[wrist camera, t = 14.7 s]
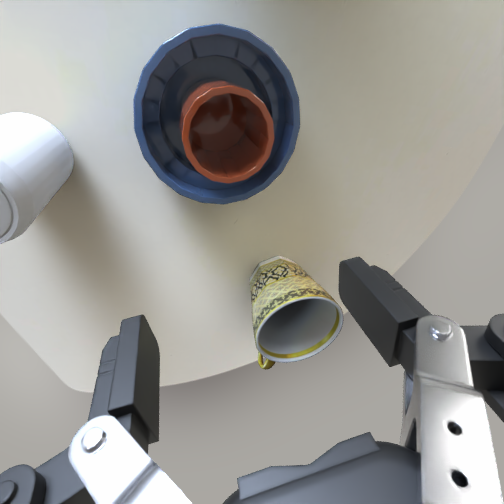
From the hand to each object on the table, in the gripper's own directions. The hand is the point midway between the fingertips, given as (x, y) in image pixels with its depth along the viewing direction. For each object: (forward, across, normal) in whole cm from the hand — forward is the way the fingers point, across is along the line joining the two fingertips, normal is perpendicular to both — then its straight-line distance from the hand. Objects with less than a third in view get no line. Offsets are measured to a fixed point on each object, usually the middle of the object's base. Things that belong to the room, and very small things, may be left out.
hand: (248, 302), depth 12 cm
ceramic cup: (+22, -5, +19) cm, 29 cm away
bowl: (+22, -2, -3) cm, 22 cm away
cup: (+21, -2, -3) cm, 21 cm away
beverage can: (+22, +14, -3) cm, 26 cm away
